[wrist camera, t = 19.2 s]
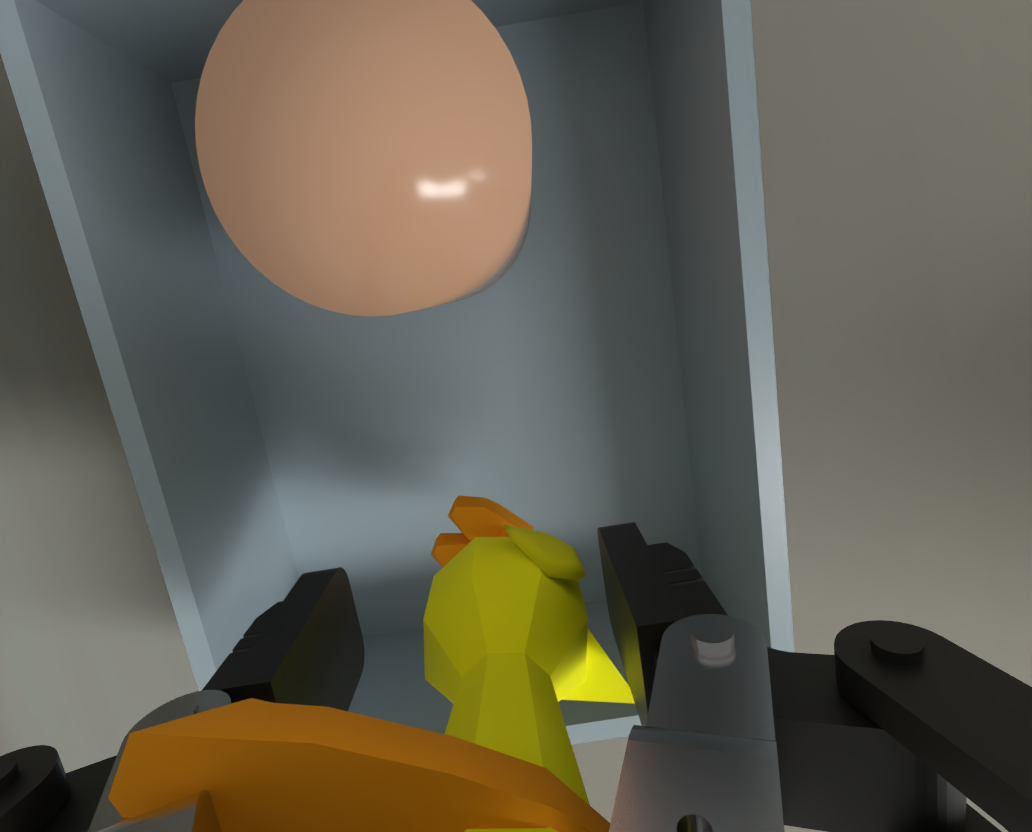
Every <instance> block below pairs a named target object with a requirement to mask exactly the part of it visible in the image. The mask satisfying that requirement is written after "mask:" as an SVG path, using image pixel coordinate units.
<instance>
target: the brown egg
mask: <svg viewBox="0 0 1032 832" xmlns="http://www.w3.org/2000/svg"><path fill="white" fill-rule="evenodd" d="M195 136H196V149H197V155H198V161H199V167H200V171H201V175H202V178H203V182H204V185H205V189H206V192H207V194H208V197H209V199H210V202H211V204H212V206H213V209H214V211H215V213H216V215H217V217H218V219H219V220H220V222H221V224H222V226H223V228H224V229H225V231H226V233H227V234H228V236H229V237H230V238H231V240H232V241H233V243H234V244H235V245H236V247H237V248H238V249H239V251H240V252H241V253H242V254H243V255H244V256H245V257H246V258H247V260H248V261H249V262H250V263H251V264H252V265H253V266H254V267H255V268H256V269H257V270H258V271H259V272H261V273H262V274H263V275H264V276H265V277H266V278H268V279H269V280H270V281H271V282H272V283H274V284H276V285H277V286H279V287H280V288H282V289H283V290H285V291H286V292H288V293H289V294H291V295H293V296H295V297H297V298H299V299H301V300H303V301H305V302H307V303H309V304H312V305H314V306H317V307H320V308H323V309H326V310H329V311H333V312H338V313H343V314H348V315H357V316H370V317H371V316H388V315H396V314H401V313H406V312H411V311H415V310H420V309H424V308H429V307H433V306H437V305H442V304H446V303H450V302H455V301H459V300H463V299H466V298H469V297H472V296H474V295H476V294H478V293H480V292H482V291H484V290H486V289H487V288H489V287H490V286H491V285H493V284H494V283H495V282H497V281H498V280H499V279H500V278H501V277H502V276H503V275H504V274H505V273H506V272H507V271H508V269H509V268H510V267H511V266H512V264H513V263H514V261H515V260H516V258H517V257H518V255H519V253H520V251H521V249H522V247H523V244H524V242H525V239H526V236H527V233H528V228H529V223H530V215H531V185H532V133H531V119H530V113H529V107H528V102H527V97H526V93H525V90H524V87H523V83H522V80H521V77H520V74H519V71H518V69H517V67H516V65H515V62H514V60H513V58H512V55H511V53H510V51H509V49H508V48H507V46H506V44H505V43H504V41H503V39H502V38H501V36H500V34H499V33H498V31H497V30H496V28H495V27H494V26H493V25H492V23H491V22H490V21H489V19H488V18H487V17H486V16H485V14H484V13H483V12H482V11H481V10H480V9H479V8H478V7H477V6H476V5H475V4H474V3H473V2H472V1H471V0H243V1H242V3H241V4H240V5H239V6H238V7H237V8H236V9H235V10H234V11H233V13H232V14H231V16H230V17H229V18H228V20H227V21H226V23H225V24H224V26H223V27H222V29H221V30H220V32H219V34H218V36H217V38H216V40H215V42H214V44H213V46H212V48H211V50H210V52H209V55H208V57H207V60H206V63H205V66H204V69H203V72H202V75H201V80H200V85H199V89H198V94H197V101H196V114H195Z"/></svg>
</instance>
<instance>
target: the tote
mask: <svg viewBox="0 0 1032 832" xmlns="http://www.w3.org/2000/svg"><path fill="white" fill-rule="evenodd" d="M242 1H243V0H0V53H1V57H2V60H3V63H4V66H5V70H6V73H7V76H8V79H9V82H10V86H11V89H12V92H13V95H14V98H15V102H16V105H17V108H18V111H19V114H20V118H21V121H22V124H23V127H24V131H25V134H26V137H27V140H28V143H29V147H30V150H31V153H32V156H33V159H34V163H35V166H36V169H37V172H38V176H39V179H40V182H41V185H42V188H43V192H44V195H45V198H46V201H47V204H48V208H49V211H50V214H51V217H52V221H53V224H54V227H55V230H56V233H57V237H58V240H59V243H60V246H61V249H62V253H63V256H64V259H65V262H66V266H67V269H68V272H69V275H70V278H71V282H72V285H73V288H74V291H75V294H76V298H77V301H78V304H79V307H80V310H81V314H82V317H83V320H84V323H85V327H86V330H87V333H88V336H89V339H90V343H91V346H92V349H93V352H94V355H95V359H96V362H97V365H98V368H99V372H100V375H101V378H102V381H103V384H104V388H105V391H106V394H107V397H108V400H109V404H110V407H111V410H112V413H113V417H114V420H115V423H116V426H117V429H118V433H119V436H120V439H121V442H122V445H123V449H124V452H125V455H126V458H127V461H128V465H129V468H130V471H131V474H132V478H133V481H134V484H135V487H136V490H137V494H138V497H139V500H140V503H141V506H142V510H143V513H144V516H145V519H146V523H147V526H148V529H149V532H150V535H151V539H152V542H153V545H154V548H155V551H156V555H157V558H158V561H159V564H160V568H161V571H162V574H163V577H164V580H165V584H166V587H167V590H168V593H169V596H170V600H171V603H172V606H173V609H174V612H175V616H176V619H177V622H178V625H179V629H180V632H181V635H182V638H183V641H184V645H185V648H186V651H187V654H188V657H189V661H190V664H191V667H192V670H193V674H194V677H195V680H196V683H197V686H198V690H199V691H202V689H203V688H204V687H205V685H206V684H207V683H208V681H209V680H210V679H211V677H212V676H213V675H214V673H215V672H216V671H217V669H218V668H219V667H220V666H221V664H222V663H223V662H224V660H225V659H226V658H227V656H228V655H229V654H230V653H233V648H234V647H235V646H236V644H237V643H238V642H239V640H240V639H242V638H243V635H244V634H245V632H246V631H247V630H248V628H249V627H250V626H251V624H252V623H253V622H254V620H255V619H256V618H257V617H258V616H260V615H261V614H262V613H264V612H265V611H266V610H268V609H269V608H270V607H272V606H273V605H274V604H276V603H277V602H281V601H283V600H284V599H285V597H286V596H287V595H288V593H289V592H290V590H291V589H292V587H293V586H294V585H295V583H296V582H297V580H298V579H299V578H300V576H301V575H302V574H303V573H307V572H313V571H320V570H326V569H333V568H339V567H342V568H343V569H344V570H345V571H346V573H347V575H348V578H349V582H350V586H351V590H352V594H353V599H354V603H355V607H356V611H357V615H358V620H359V624H360V628H361V632H362V636H363V642H364V667H363V671H362V675H361V677H360V680H359V683H358V685H357V688H356V691H355V693H354V696H353V699H352V702H351V704H350V707H349V710H348V712H352V713H356V714H361V715H365V716H369V717H373V718H378V719H382V720H386V721H390V722H395V723H399V724H403V725H407V726H412V727H416V728H420V729H424V730H429V731H433V732H437V733H441V734H445V731H446V727H447V724H448V721H449V718H450V714H451V711H452V708H453V703H452V702H451V701H450V700H449V699H447V698H446V697H445V696H444V695H443V694H442V693H440V692H439V691H438V690H437V689H436V688H434V687H433V686H432V685H431V684H430V683H429V682H427V681H426V680H425V664H424V627H423V618H424V614H425V610H426V606H427V602H428V598H429V593H430V589H431V585H432V581H433V577H434V575H435V574H436V573H437V572H439V571H440V570H441V569H442V568H443V567H442V566H441V565H440V564H439V563H438V562H437V561H436V560H435V559H434V558H433V557H432V556H431V555H430V554H431V552H432V549H433V546H434V543H435V541H436V538H437V537H438V536H439V534H440V533H462V532H461V531H460V530H459V529H458V527H457V526H456V525H455V524H454V523H453V522H452V520H451V519H450V518H449V517H448V514H449V512H450V509H451V507H452V505H453V503H454V501H455V499H456V498H457V497H458V496H459V495H460V496H473V497H485V498H487V499H490V500H492V501H494V502H497V503H499V504H500V505H502V506H503V507H505V508H506V509H508V510H509V511H511V512H512V513H514V514H515V515H517V516H518V517H520V518H521V519H523V520H524V521H526V522H527V523H529V524H530V525H532V526H533V530H536V531H541V532H546V533H548V534H550V535H551V536H553V537H555V538H557V539H559V540H561V541H563V542H565V543H567V544H568V545H570V546H572V547H574V549H575V551H576V553H577V555H578V557H579V559H580V561H581V563H582V565H583V567H584V569H585V577H584V578H582V579H581V580H580V581H579V585H580V589H581V593H582V597H583V601H584V605H585V609H586V613H587V617H588V629H589V631H590V632H591V633H592V635H593V636H594V638H595V639H596V640H597V642H598V643H599V645H600V646H601V647H602V649H603V650H604V652H605V653H606V654H607V656H608V657H609V659H610V660H611V661H612V663H613V664H614V666H615V667H616V668H617V670H618V671H619V673H620V674H621V675H622V677H623V678H624V680H625V681H626V682H627V684H628V685H629V683H628V680H627V676H626V673H625V670H624V667H623V663H622V660H621V657H620V654H619V651H618V647H617V644H616V641H615V638H614V634H613V631H612V626H611V622H610V617H609V612H608V606H607V600H606V593H605V585H604V578H603V571H602V564H601V557H600V549H599V542H598V533H597V529H598V528H599V527H605V526H612V525H618V524H624V523H631V522H635V523H636V525H637V527H638V529H639V531H640V532H641V534H642V536H643V538H644V540H645V542H646V543H647V545H652V544H658V543H665V542H667V543H669V544H671V545H673V546H675V547H676V548H678V549H680V550H682V551H684V552H686V554H687V555H688V557H689V558H690V560H691V561H692V563H693V564H694V566H695V569H697V570H698V572H699V573H700V575H701V576H702V578H703V581H705V582H706V584H707V585H708V587H709V588H710V589H711V591H712V592H713V594H714V595H715V597H716V598H717V600H718V601H719V603H720V604H721V606H722V607H723V609H724V610H725V612H726V613H727V615H728V616H732V617H735V618H739V619H741V620H744V621H746V622H748V623H750V624H751V625H753V626H754V627H756V628H757V629H758V630H759V631H760V632H761V633H762V634H763V636H764V638H765V639H766V643H767V647H769V648H773V649H776V650H781V651H786V652H794V638H793V623H792V609H791V594H790V579H789V564H788V549H787V535H786V520H785V505H784V490H783V475H782V461H781V446H780V431H779V416H778V402H777V387H776V372H775V357H774V342H773V328H772V313H771V298H770V283H769V269H768V254H767V239H766V224H765V209H764V195H763V180H762V165H761V150H760V136H759V121H758V106H757V91H756V76H755V62H754V47H753V32H752V17H751V3H750V0H471V1H472V2H473V3H474V4H475V5H476V6H477V7H478V8H479V9H480V10H481V11H482V12H483V13H484V14H485V16H486V17H487V18H488V19H489V21H490V22H491V23H492V25H493V26H494V27H495V28H496V30H497V31H498V33H499V34H500V36H501V38H502V39H503V41H504V43H505V44H506V46H507V48H508V49H509V51H510V53H511V55H512V58H513V60H514V62H515V65H516V67H517V69H518V71H519V74H520V77H521V80H522V83H523V87H524V90H525V93H526V97H527V102H528V107H529V113H530V119H531V133H532V185H531V215H530V223H529V228H528V233H527V236H526V239H525V242H524V244H523V247H522V249H521V251H520V253H519V255H518V257H517V258H516V260H515V261H514V263H513V264H512V266H511V267H510V268H509V269H508V271H507V272H506V273H505V274H504V275H503V276H502V277H501V278H500V279H499V280H498V281H497V282H495V283H494V284H493V285H491V286H490V287H489V288H487V289H486V290H484V291H482V292H480V293H478V294H476V295H474V296H472V297H469V298H466V299H463V300H459V301H455V302H450V303H446V304H442V305H437V306H433V307H429V308H424V309H420V310H415V311H411V312H406V313H401V314H396V315H388V316H371V317H370V316H357V315H348V314H343V313H338V312H333V311H329V310H326V309H323V308H320V307H317V306H314V305H312V304H309V303H307V302H305V301H303V300H301V299H299V298H297V297H295V296H293V295H291V294H289V293H288V292H286V291H285V290H283V289H282V288H280V287H279V286H277V285H276V284H274V283H272V282H271V281H270V280H269V279H268V278H266V277H265V276H264V275H263V274H262V273H261V272H259V271H258V270H257V269H256V268H255V267H254V266H253V265H252V264H251V263H250V262H249V261H248V260H247V258H246V257H245V256H244V255H243V254H242V253H241V252H240V251H239V249H238V248H237V247H236V245H235V244H234V243H233V241H232V240H231V238H230V237H229V236H228V234H227V233H226V231H225V229H224V228H223V226H222V224H221V222H220V220H219V219H218V217H217V215H216V213H215V211H214V209H213V206H212V204H211V202H210V199H209V197H208V194H207V192H206V189H205V185H204V182H203V178H202V175H201V171H200V167H199V161H198V155H197V149H196V136H195V114H196V101H197V94H198V89H199V85H200V80H201V75H202V72H203V69H204V66H205V63H206V60H207V57H208V55H209V52H210V50H211V48H212V46H213V44H214V42H215V40H216V38H217V36H218V34H219V32H220V30H221V29H222V27H223V26H224V24H225V23H226V21H227V20H228V18H229V17H230V16H231V14H232V13H233V11H234V10H235V9H236V8H237V7H238V6H239V5H240V4H241V3H242ZM629 687H630V686H629ZM558 703H559V706H560V710H561V713H562V716H563V719H564V723H565V726H566V729H567V732H568V736H569V739H570V742H571V745H572V744H579V743H586V742H592V741H599V740H606V739H612V738H619V737H626V736H629V734H630V731H631V729H632V727H633V726H634V725H641V722H640V718H639V715H638V712H637V709H636V706H635V703H616V702H597V701H578V700H560V701H559V702H558ZM641 726H642V725H641Z"/></svg>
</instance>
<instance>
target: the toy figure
mask: <svg viewBox="0 0 1032 832" xmlns="http://www.w3.org/2000/svg"><path fill="white" fill-rule="evenodd" d="M448 517H449V518H450V519H451V520H452V522H453V523H454V524H455V525H456V526H457V527H458V529H459V530H460V531H461V532H462V533H440V534H439V536H438V537H437V538H436V541H435V543H434V546H433V549H432V552H431V554H430V555H431V556H432V557H433V558H434V559H435V560H436V561H437V562H438V563H439V564H440V565H441V566H442V567H443V568H442V569H441V570H440V571H439V572H437V573H436V574H435V575H434V577H433V581H432V585H431V589H430V593H429V598H428V602H427V606H426V610H425V614H424V618H423V627H424V664H425V680H426V681H427V682H429V683H430V684H431V685H432V686H433V687H434V688H436V689H437V690H438V691H439V692H440V693H442V694H443V695H444V696H445V697H446V698H447V699H449V700H450V701H451V702H452V703H453V708H452V711H451V714H450V718H449V721H448V724H447V727H446V731H445V734H441V733H437V732H433V731H429V730H424V729H420V728H416V727H412V726H407V725H403V724H399V723H395V722H390V721H386V720H382V719H378V718H373V717H369V716H365V715H361V714H356V713H352V712H348V711H344V710H339V709H335V708H331V707H326V706H312V705H298V704H284V703H272V702H268V701H263V700H259V699H254V698H250V699H246V700H242V701H238V702H235V703H232V704H228V705H225V706H221V707H218V708H214V709H211V710H208V711H204V712H201V713H197V714H194V715H190V716H187V717H184V718H180V719H177V720H173V721H170V722H166V723H163V724H159V725H156V726H153V727H149V728H146V729H142V730H139V731H135V732H132V733H130V734H129V737H128V740H127V743H126V746H125V749H124V752H123V755H122V758H121V761H120V764H119V767H118V770H117V773H116V776H115V779H114V782H113V785H112V788H111V791H110V794H109V797H108V799H109V800H110V801H111V803H112V804H113V805H114V807H115V808H116V809H117V811H118V812H119V813H120V815H121V816H122V817H126V818H132V817H135V816H137V815H140V814H142V813H145V812H147V811H150V810H153V809H155V808H158V807H160V806H163V805H165V804H168V803H171V802H173V801H176V800H178V799H181V798H183V797H186V796H189V795H191V794H194V793H196V792H199V791H201V790H207V791H209V793H210V796H211V799H212V803H213V806H214V809H215V812H216V815H217V818H218V821H219V824H220V827H221V830H222V832H609V828H610V823H609V822H608V821H607V820H606V819H605V818H603V817H602V816H601V815H600V814H599V813H598V812H596V811H595V810H594V809H593V808H592V807H591V806H590V804H589V801H588V798H587V795H586V791H585V788H584V785H583V781H582V778H581V775H580V772H579V768H578V765H577V762H576V759H575V755H574V752H573V749H572V746H571V742H570V739H569V736H568V732H567V729H566V726H565V723H564V719H563V716H562V713H561V710H560V706H559V703H558V702H559V701H560V700H578V701H597V702H616V703H635V702H634V699H633V696H632V693H631V689H630V687H629V685H628V684H627V682H626V681H625V680H624V678H623V677H622V675H621V674H620V673H619V671H618V670H617V668H616V667H615V666H614V664H613V663H612V661H611V660H610V659H609V657H608V656H607V654H606V653H605V652H604V650H603V649H602V647H601V646H600V645H599V643H598V642H597V640H596V639H595V638H594V636H593V635H592V633H591V632H590V631H589V629H588V617H587V613H586V609H585V605H584V601H583V597H582V593H581V589H580V585H579V581H580V580H581V579H582V578H584V577H585V569H584V567H583V565H582V563H581V561H580V559H579V557H578V555H577V553H576V551H575V549H574V547H572V546H570V545H568V544H567V543H565V542H563V541H561V540H559V539H557V538H555V537H553V536H551V535H550V534H548V533H546V532H541V531H536V530H533V526H532V525H530V524H529V523H527V522H526V521H524V520H523V519H521V518H520V517H518V516H517V515H515V514H514V513H512V512H511V511H509V510H508V509H506V508H505V507H503V506H502V505H500V504H499V503H497V502H494V501H492V500H490V499H487V498H485V497H473V496H460V495H459V496H458V497H457V498H456V499H455V501H454V503H453V505H452V507H451V509H450V512H449V514H448Z"/></svg>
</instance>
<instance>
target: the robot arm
mask: <svg viewBox="0 0 1032 832" xmlns="http://www.w3.org/2000/svg"><path fill="white" fill-rule="evenodd" d="M597 533H598V542H599V549H600V557H601V564H602V571H603V578H604V585H605V593H606V600H607V606H608V612H609V617H610V622H611V626H612V631H613V634H614V638H615V641H616V644H617V647H618V651H619V654H620V657H621V660H622V663H623V667H624V670H625V673H626V676H627V680H628V683H629V686H630V689H631V693H632V696H633V699H634V702H635V706H636V709H637V712H638V715H639V718H640V722H641V725H642V726H641V725H634V726H633V727H632V729H631V731H630V734H629V738H628V743H627V747H626V752H625V757H624V762H623V766H622V771H621V776H620V781H619V785H618V790H617V795H616V799H615V804H614V809H613V814H612V818H611V823H610V828H609V832H784V825H788V826H795V827H801V828H808V829H814V830H821V831H828V832H1001V831H1000V830H999V829H997V828H996V827H995V826H994V825H993V824H991V823H990V822H989V821H988V820H986V819H985V818H984V817H983V816H982V815H980V814H979V813H978V812H977V811H975V810H974V809H973V808H972V807H971V806H969V805H968V804H967V803H966V797H967V798H969V799H970V800H971V801H972V802H973V803H975V804H976V805H977V806H978V807H980V808H981V809H982V810H983V811H985V812H986V813H987V814H988V815H990V816H991V817H992V818H993V819H995V820H996V821H997V822H998V823H1000V824H1001V825H1002V826H1003V827H1004V828H1005V829H1007V830H1008V831H1009V832H1032V687H1030V686H1029V685H1027V684H1025V683H1023V682H1022V681H1020V680H1018V679H1016V678H1014V677H1013V676H1011V675H1009V674H1007V673H1006V672H1004V671H1002V670H1000V669H999V668H997V667H995V666H993V665H991V664H990V663H988V662H986V661H984V660H983V659H981V658H979V657H977V656H975V655H974V654H972V653H970V652H968V651H967V650H965V649H963V648H961V647H960V646H958V645H956V644H954V643H952V642H951V641H949V640H947V639H945V638H944V637H942V636H940V635H938V634H936V633H934V632H932V631H929V630H927V629H924V628H921V627H918V626H914V625H911V624H906V623H901V622H894V621H881V620H879V621H865V622H859V623H855V624H852V625H850V626H847V627H846V628H844V629H842V630H841V631H840V632H839V633H838V634H837V636H836V638H835V642H834V652H835V655H824V654H807V653H794V652H786V651H781V650H776V649H773V648H769V647H767V643H766V639H765V638H764V636H763V634H762V633H761V632H760V631H759V630H758V629H757V628H756V627H754V626H753V625H751V624H750V623H748V622H746V621H744V620H741V619H739V618H735V617H732V616H728V615H727V613H726V612H725V610H724V609H723V607H722V606H721V604H720V603H719V601H718V600H717V598H716V597H715V595H714V594H713V592H712V591H711V589H710V588H709V587H708V585H707V584H706V582H705V581H703V578H702V576H701V575H700V573H699V572H698V570H697V569H695V566H694V564H693V563H692V561H691V560H690V558H689V557H688V555H687V554H686V552H684V551H682V550H680V549H678V548H676V547H675V546H673V545H671V544H669V543H667V542H665V543H658V544H652V545H647V543H646V542H645V540H644V538H643V536H642V534H641V532H640V531H639V529H638V527H637V525H636V523H635V522H631V523H624V524H618V525H612V526H605V527H599V528H598V529H597ZM363 667H364V642H363V636H362V632H361V628H360V624H359V620H358V615H357V611H356V607H355V603H354V599H353V594H352V590H351V586H350V582H349V578H348V575H347V573H346V571H345V570H344V569H343V568H342V567H339V568H333V569H326V570H320V571H313V572H307V573H303V574H302V575H301V576H300V578H299V579H298V580H297V582H296V583H295V585H294V586H293V587H292V589H291V590H290V592H289V593H288V595H287V596H286V597H285V599H284V600H283V601H281V602H277V603H276V604H274V605H273V606H272V607H270V608H269V609H268V610H266V611H265V612H264V613H262V614H261V615H260V616H258V617H257V618H256V619H255V620H254V622H253V623H252V624H251V626H250V627H249V628H248V630H247V631H246V632H245V634H244V635H243V638H242V639H240V640H239V642H238V643H237V644H236V646H235V647H234V648H233V653H230V654H229V655H228V656H227V658H226V659H225V660H224V662H223V663H222V664H221V666H220V667H219V668H218V669H217V671H216V672H215V673H214V675H213V676H212V677H211V679H210V680H209V681H208V683H207V684H206V685H205V687H204V688H203V689H202V691H197V692H193V693H190V694H186V695H183V696H181V697H178V698H176V699H174V700H171V701H169V702H167V703H165V704H163V705H162V706H160V707H158V708H157V709H155V710H153V711H152V712H150V713H149V714H148V715H146V716H145V717H143V718H142V719H141V720H140V721H139V722H138V723H136V724H135V725H134V726H133V728H132V729H131V730H130V731H129V732H128V733H127V735H126V736H125V738H124V740H123V742H122V744H121V747H120V749H119V752H118V754H117V756H114V757H111V758H108V759H105V760H102V761H100V762H97V763H94V764H91V765H88V766H85V767H83V768H80V769H77V770H74V771H71V772H69V773H65V771H64V768H63V765H62V763H61V760H60V757H59V755H58V752H57V750H56V749H55V748H53V747H51V746H46V745H39V746H32V747H27V748H23V749H19V750H16V751H13V752H10V753H8V754H5V755H3V756H0V832H222V830H221V827H220V824H219V821H218V818H217V815H216V812H215V809H214V806H213V803H212V799H211V796H210V793H209V791H207V790H201V791H199V792H196V793H194V794H191V795H189V796H186V797H183V798H181V799H178V800H176V801H173V802H171V803H168V804H165V805H163V806H160V807H158V808H155V809H153V810H150V811H147V812H145V813H142V814H140V815H137V816H135V817H132V818H126V817H122V816H121V815H120V813H119V812H118V811H117V809H116V808H115V807H114V805H113V804H112V803H111V801H110V800H109V799H108V797H109V794H110V791H111V788H112V785H113V782H114V779H115V776H116V773H117V770H118V767H119V764H120V761H121V758H122V755H123V752H124V749H125V746H126V743H127V740H128V737H129V734H130V733H132V732H135V731H139V730H142V729H146V728H149V727H153V726H156V725H159V724H163V723H166V722H170V721H173V720H177V719H180V718H184V717H187V716H190V715H194V714H197V713H201V712H204V711H208V710H211V709H214V708H218V707H221V706H225V705H228V704H232V703H235V702H238V701H242V700H246V699H250V698H254V699H259V700H263V701H268V702H272V703H284V704H298V705H312V706H326V707H331V708H335V709H339V710H344V711H348V710H349V707H350V704H351V702H352V699H353V696H354V693H355V691H356V688H357V685H358V683H359V680H360V677H361V675H362V671H363Z"/></svg>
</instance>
